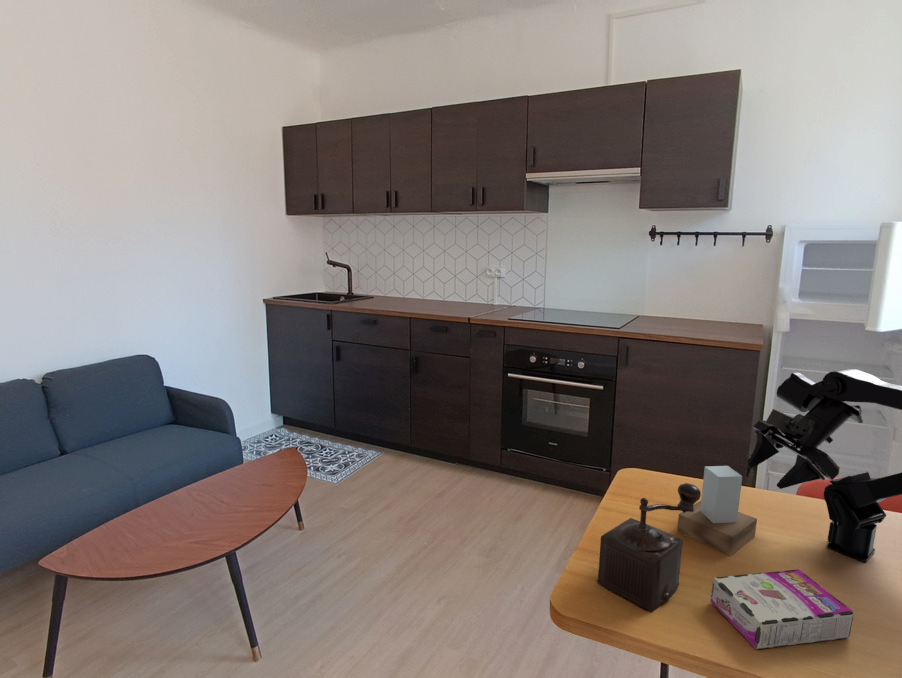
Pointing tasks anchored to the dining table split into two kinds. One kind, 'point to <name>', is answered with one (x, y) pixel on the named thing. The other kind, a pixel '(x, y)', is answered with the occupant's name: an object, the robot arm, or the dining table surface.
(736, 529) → the walnut block
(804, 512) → the dining table surface
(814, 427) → the robot arm
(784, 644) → the candy bar box
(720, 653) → the dining table surface
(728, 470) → the grey-blue block
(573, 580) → the dining table surface
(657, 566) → the manual coffee grinder
